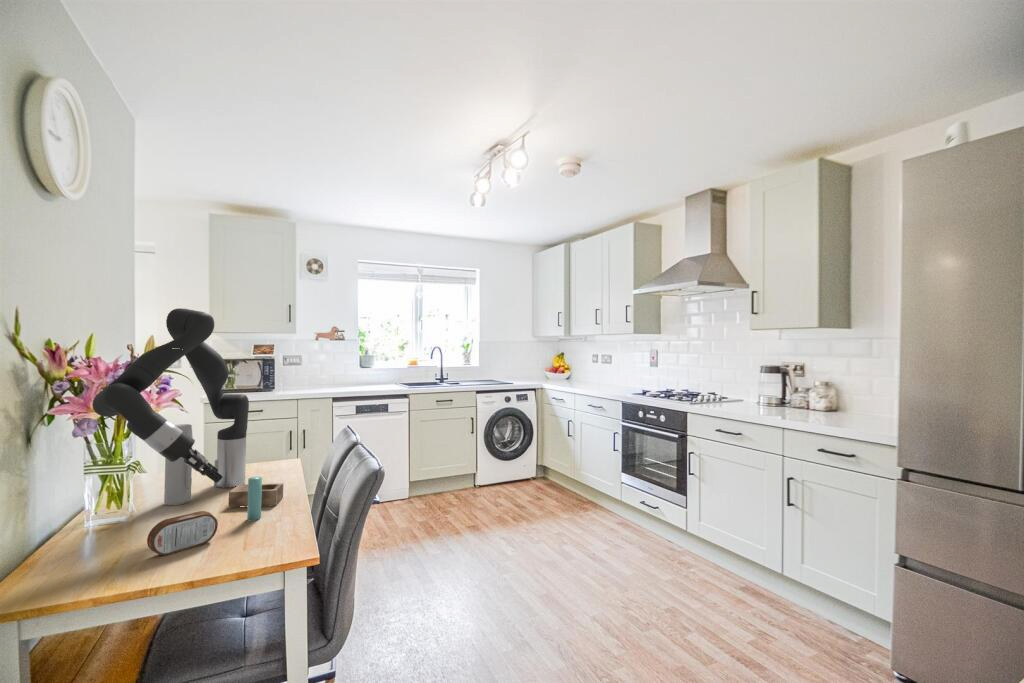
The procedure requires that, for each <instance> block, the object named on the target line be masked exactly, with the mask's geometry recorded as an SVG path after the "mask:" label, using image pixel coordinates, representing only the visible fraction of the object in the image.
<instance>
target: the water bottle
mask: <svg viewBox="0 0 1024 683" xmlns="http://www.w3.org/2000/svg"><path fill="white" fill-rule="evenodd" d="M175 425H176V426H177V427H178V428H180V429H181V430H182V431H184V432H185V433H186V434H188V435H189V436H190V437H192V438H193V426H192V425H193V424H189V423H188V424H187V423H181V424H175ZM193 439H194V438H193ZM191 448H192V449H193V446H192V447H191ZM164 458H165V457H164ZM183 460H184V458H183V457H180V458H179V459H178V460H176V461H174V462H171V461H169V460H168V459H166V458H165V461H164V463H165V464H164V495H163V496H164V498H163V502H164V504H165V505H166V506H170V505H174V506H181V505H184V503H185V504H187V503H188V502H190V500H191V498H192V483H193V481H192V479H193V478H192V475H193V474H192V469H193V468H192V467H191V466H188V465H186V464H185V463H184V461H183ZM180 504H181V505H180Z"/></svg>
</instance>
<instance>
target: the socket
mask: <svg viewBox="0 0 1024 683" xmlns="http://www.w3.org/2000/svg"><path fill="white" fill-rule="evenodd" d="M282 498H283V499H284V483H283V482H282V483H262V498H261V506H263V507H270V506H269V505H272V506H271V507H276V506H277V505H279V504H280V502H281V501H282V500H283V499H282ZM273 505H274V506H273ZM275 505H276V506H275ZM240 506H248V484H243V485H238V486H236V487H233V488H232V489H231V490H230V491H229V492H228V507H239V508H241V507H240Z"/></svg>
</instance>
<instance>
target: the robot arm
mask: <svg viewBox="0 0 1024 683" xmlns="http://www.w3.org/2000/svg"><path fill="white" fill-rule="evenodd" d="M165 322H166V323H165V324H166V329H167V332H168V334H169V335H170V337H171V338H172V340H171V341H168V342H167V343H164V344H162V345H160V346H157V347H154V348H151V349H150V350H148V351H145V353H143V354H141V355H140V356H139V357H137V359H135V360H134V361H133V362H132V363H131V364H130V365H128V367H127V368H126V369H124V371H123V372H122V373H121V374H120V375H119V376H118V377H117V378H115V379H114V380H113V381H112V382H110V383H109V384H108V385H106V387H104V388H102V390H101V391H100V392H98V393H97V394H96V395H95V396H94V398H93V400H92V404H91V405H92V409H93V411H94V413H96V414H97V415H99V416H100V417H104V418H111V417H116V416H118V415H120V416H122V417H123V418H124V419H125V420H126V421H127V423H126V428H127V429H128V430H129V432H131V433H132V434H134V435H135V436H136V437H138V438H139V439H141V440H142V441H143V442H144V443H145V444H147V445H148V446H149V447H150V449H152V450H154V451H155V452H157V453H158V454H159V455H161V456H162V457H164V458H166V459H168V460H169V461H171V462H174V461H176V460H178V459H179V458H180V457H183V458H184V460H183V461H184V463H185V464H186V465H188V466H191V467H192V469H193V470H195V472H199V474H200V475H202V476H206V477H207V478H209V479H210V480H212V482H213V488H220V487H222V488H221V489H223V488H224V489H225V487H226V488H227V487H229V488H235V486H238V485H245V484H244V483H246V470H247V469H246V467H247V464H246V461H247V460H246V458H247V432H248V421H249V420H248V419H249V410H250V409H249V408H250V402H249V397H248V396H247V395H246V394H239V393H234V394H232V393H224V392H223V391H222V388H223V387H224V385H226V382H227V380H228V378H229V375H230V374H229V369H228V367H227V364H226V362H225V360H224V358H223V357H222V356H221V354H220V353H219V352H218V351H217V350H215V348H213V347H212V346H210V345H209V344H208V343H206V342H205V341H206V340H207V339H209V338H210V336H211V335H212V334H213V331H214V329H215V319H214V317H213V316H212V315H211V314H210V313H209V312H208V313H207V312H205V311H201V310H194V309H189V308H182V307H181V308H174V309H172V310H170V312H169V313H167V316H166V320H165ZM172 348H180V349H172ZM182 349H183V350H182ZM183 357H185V358H186V359H187V361H188V363H189V365H190V367H191V368H192V371H193V373H194V374H195V376H196V379H197V380H198V382H199V384H200V385H201V387H202V389H203V392H204V393H205V396H206V397H207V400H208V402H209V406H210V409H211V411H212V413H213V415H214V416H215V417H216V419H218V420H234V422H233V424H232V425H230V426H228V427H226V428H221V429H219V430H218V431H217V435H216V436H217V439H216V440H217V443H216V445H217V446H216V447H217V448H216V459H215V460H214V464H211V463H210V462H209V461H208V459H206V456H205V455H203V454H201V452H200V451H199V450H197V449H193V447H194V444H195V443H196V439H194V438H192V437H190V436H189V435H188V434H186V433H185V432H184V431H182V430H181V429H180V428H178V427H177V426H176V425H177V424H174V423H173V422H171V421H169V420H167V419H166V418H165V417H164V416H163V415H161V414H160V413H159V412H157V411H156V410H154V409H153V408H152V406H151V404H150V403H148V401H147V399H145V398H144V397H143V395H142V394H141V393H142V392H143V391H145V390H146V389H148V388H149V387H151V386H152V385H153V383H154V382H156V381H157V380H158V379H159V378H160V377H161V376H162V375H163V374H164V372H166V371H167V370H168V369H169V368H170V367H171V366H172V365H174V364H175V363H176V362H177V361H178V360H180V359H181V358H183ZM163 371H164V372H163ZM156 412H157V413H156ZM191 447H192V448H191Z"/></svg>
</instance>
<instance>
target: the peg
mask: <svg viewBox="0 0 1024 683" xmlns="http://www.w3.org/2000/svg"><path fill="white" fill-rule="evenodd" d="M247 481H248V482H247V485H248V507H247V512H246V513H247V514H246V515H247V516H246V518H247V519H248V520H255V521H258V520H257V519H259V520H260V518H262V507H261V498H262V484H263V477H262V476H251V477H249V478H248V479H247ZM248 520H247V521H248Z"/></svg>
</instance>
